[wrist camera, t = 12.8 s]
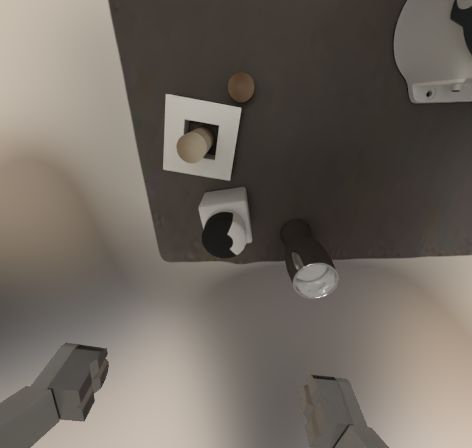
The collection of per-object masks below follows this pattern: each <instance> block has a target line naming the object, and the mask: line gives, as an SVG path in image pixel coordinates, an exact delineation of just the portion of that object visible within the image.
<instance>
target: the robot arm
mask: <svg viewBox="0 0 472 448" xmlns="http://www.w3.org/2000/svg"><path fill="white" fill-rule="evenodd" d="M394 56H395V60H396V64H397V66H398V69H399V71H400V72H401V74H402V75H403V77H404V78H405V80H406V82H407V85H408V93H409V98H410V100H411V102H412V103H416V104H418V103H450V102H472V0H407V2H406V3H405V5H404V7H403V9H402V11H401V14H400V16H399V19H398V22H397V26H396V30H395V35H394ZM427 92H429V95H428V96H426V94H427ZM107 354H108V353H107V349H106V348H100V347H93V346H85V345H79V344H71V343H65V344H64V345H62V346H61V347H60V349H59V350H58V351H57V352H56V354H55V355H54V357H53V358H52V359H51V360H50V362H49V363H48V364H47V366H46V367H45V368H44V370H43V371H42V372H41V373H40V375H39V376H38V377H37V379H36V380H35V382H34V383H33V384H32V385H31V387H28V386H26V387H25V388H23V389H21V390H20V391H18V392H17V393H15V394H14V395H12V396H10V397H9V398H7V399H6V400H4V401H3V402H1V403H0V448H30V447H31V446H33V445H34V444H35V443H36V442H37V441H38V440H39V439H40V438H41V437H43V436H44V435H45V434H46V433H47V432H48V431H49V430H50V429H51V428H52V427H54V426H55V425H56V424H57V423H58V422H59V419H61V420H62V419H63V420H73V421H85V419H86V417H87V415H88V413H89V411H90V409H91V407H92V405H93V403H94V401H95V400H94V393H95V392H97V391H98V390H99V389H101V387H102V385H103V383H104V381H105V379H106V376H107V373H108V367H109V364H108V361H107V360H106V359H105V358H106V356H107ZM307 382H308V384H307V385H305V386H304V387H303V390H302V394H301V405H302V410H303V413H304V415H305V416H306V418H307V419H308V421H307V424H306V431H307V436H308V440H309V445H310V447H312V448H389V447H388V446H387V445H386V444H385V443H384V441H383V440H382V439H381V438H380V437H379V436H378V435H377V434H376V432H375V431H374V430H373V429H372V428H369V427H367V425H366V422H365V420H364V417H363V414H362V412H361V409H360V407H359V404H358V402H357V399H356V397H355V394H354V392H353V389H352V387H351V384H350V382H349V381H348V380H347V379H342V378H334V377H326V376H317V375H310V376H309V377H308V379H307Z"/></svg>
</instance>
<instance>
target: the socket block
mask: <svg viewBox="0 0 472 448" xmlns="http://www.w3.org/2000/svg"><path fill="white" fill-rule="evenodd" d="M241 109H242V108H240V107H235V106H230V105H224V104H219V103H213V102H208V101H202V100H197V99H192V98H186V97H181V96H175V95H170V94H166V104H165V132H164V159H163V170H169V171H175V172H181V173H187V174H193V175H198V176H204V177H210V178H216V179H222V180H228V181H230V178H231V172H232V165H233V159H234V153H235V147H236V140H237V134H238V128H239V121H240V115H241ZM190 120H191V121H197V122H203V123H208V124H214V125H219V131H218V139H217V147H216V155H210V154H205V156H204V157H203V158H202V159H201V160H200V161H199V162H197V163H187V162H185V161H183V160H182V159H181V158H180V157H179V155H178V153H177V148H176V146H177V142H178V140H179V138H180V137H181V136H183V135H184V134H186V133H189V122H190Z"/></svg>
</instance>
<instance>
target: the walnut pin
mask: <svg viewBox="0 0 472 448" xmlns="http://www.w3.org/2000/svg"><path fill="white" fill-rule="evenodd" d="M228 91H229V94H230V96H231V97H232V98H233V99H234V100H235V101H237V102H246V101H247V100H249V99H250V97H251V96H252V95H253V92H254V82H253V79H252V78H251V76H250V75H249V74H247V73H245V72H238V73H236V74H234V75H233V76H232V77H231V79H230V80H229V84H228Z"/></svg>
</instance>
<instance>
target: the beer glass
mask: <svg viewBox="0 0 472 448" xmlns="http://www.w3.org/2000/svg"><path fill="white" fill-rule="evenodd" d="M280 237H281V240H282V242H283V243H284V244H285V248H286V249H285V260H286V267H287V271H288V274H289V277H290V280H291V282H292V284H293V287H294V290H295V291H296V293H297V294H299V295H300V296H302V297H304V298H308V299H319V298H323V297H325V296H327V295H329V294H331V293H332V292H333V291H334V290H335V288H336V287H337V285H338V281H339V276H338V273H337V271H336V269H335V267H334V264H333V262H332V260H331V258H330V256H329V254H328V253H327V251H326V250H325V248H324V247H323V246H322V245H321V244H320V243H319V242H318V241H317V240H316V239H315V238H314V237H313V236H312V233H311V228H310V226H309V225H308V224H307V223H306V222H304V221H302V220H292V221H289V222H287V223H286V224H285V225H284V226H283V227H282V229H281V232H280Z"/></svg>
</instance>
